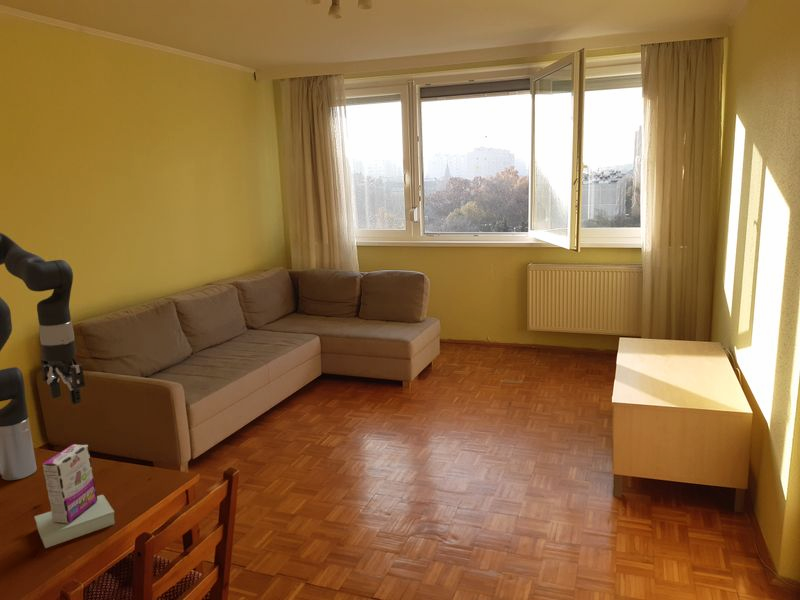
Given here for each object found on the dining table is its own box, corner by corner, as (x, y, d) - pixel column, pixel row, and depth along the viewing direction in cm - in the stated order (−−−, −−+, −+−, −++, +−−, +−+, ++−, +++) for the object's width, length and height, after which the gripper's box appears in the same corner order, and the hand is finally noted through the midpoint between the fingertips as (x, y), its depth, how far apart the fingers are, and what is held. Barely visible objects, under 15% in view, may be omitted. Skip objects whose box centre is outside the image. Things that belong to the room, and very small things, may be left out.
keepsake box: (44, 551, 150) (42, 536, 149) (36, 530, 159) (34, 516, 158) (116, 525, 160) (114, 511, 159) (104, 508, 169) (102, 494, 168)
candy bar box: (81, 499, 165) (72, 443, 162) (98, 501, 164) (89, 444, 161) (51, 523, 154) (40, 463, 151) (68, 524, 153) (58, 464, 150)
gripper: (26, 339, 155) (35, 400, 159) (60, 347, 148) (69, 410, 152) (55, 332, 162) (63, 390, 165) (89, 339, 155) (96, 400, 158)
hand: (66, 400), depth 159 cm, fingers open, 8 cm apart
